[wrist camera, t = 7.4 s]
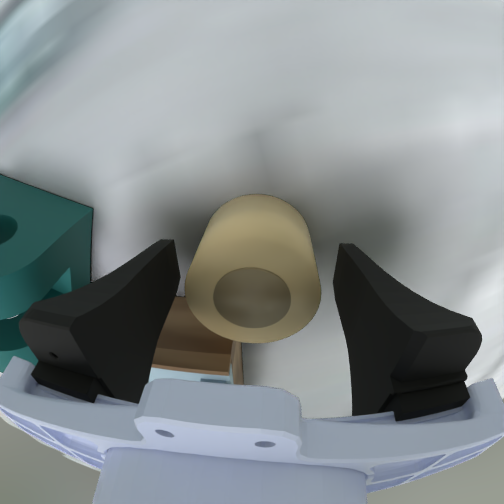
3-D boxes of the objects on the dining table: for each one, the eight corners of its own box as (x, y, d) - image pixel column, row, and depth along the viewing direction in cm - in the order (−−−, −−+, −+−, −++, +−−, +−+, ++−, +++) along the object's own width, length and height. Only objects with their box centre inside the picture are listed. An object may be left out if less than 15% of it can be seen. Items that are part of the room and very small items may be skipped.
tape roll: (305, 285, 15) (312, 346, 12) (210, 283, 15) (193, 342, 12) (314, 195, 12) (331, 242, 9) (201, 193, 13) (173, 239, 9)
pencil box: (243, 386, 20) (238, 442, 16) (87, 363, 21) (67, 406, 17) (238, 299, 16) (228, 372, 12) (44, 283, 16) (9, 329, 12)
